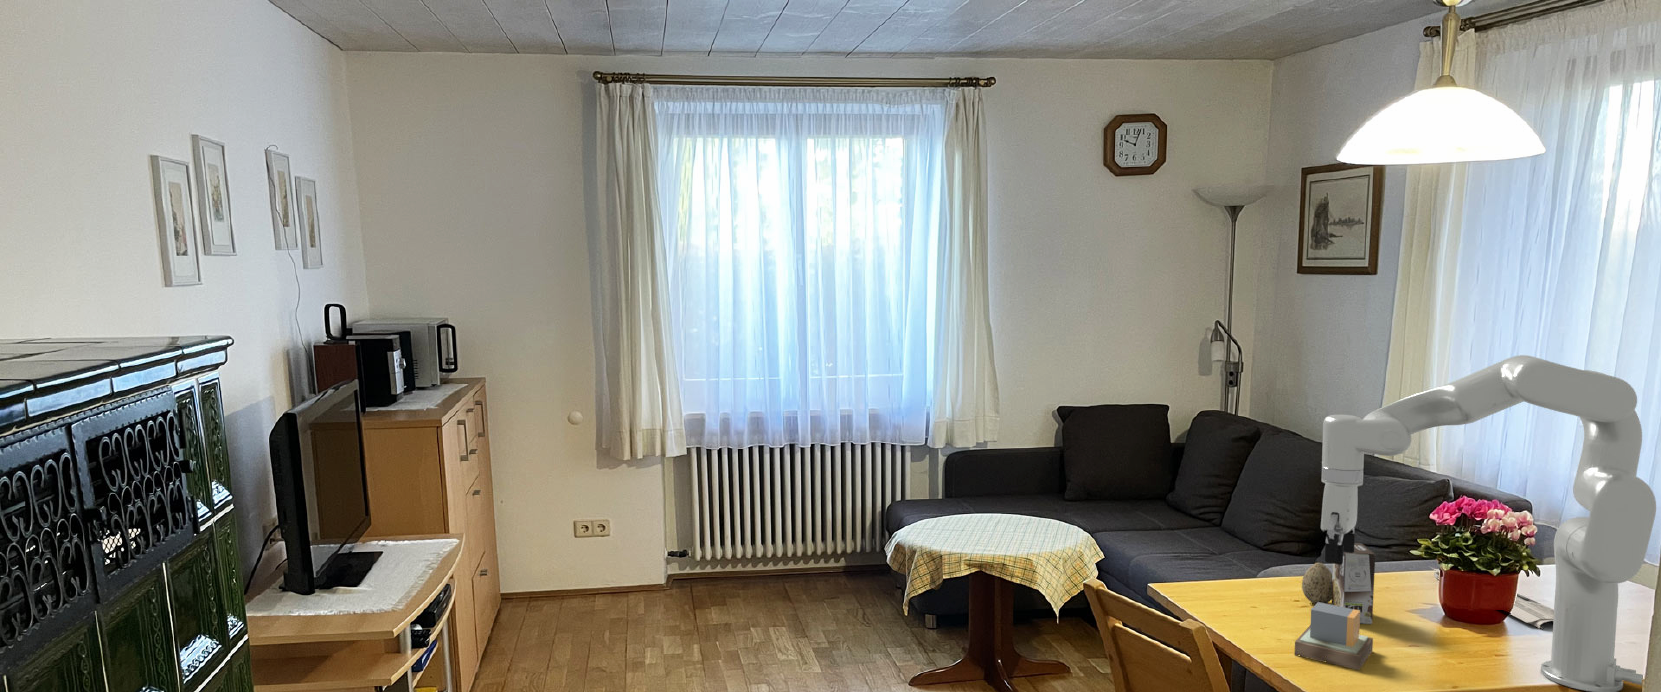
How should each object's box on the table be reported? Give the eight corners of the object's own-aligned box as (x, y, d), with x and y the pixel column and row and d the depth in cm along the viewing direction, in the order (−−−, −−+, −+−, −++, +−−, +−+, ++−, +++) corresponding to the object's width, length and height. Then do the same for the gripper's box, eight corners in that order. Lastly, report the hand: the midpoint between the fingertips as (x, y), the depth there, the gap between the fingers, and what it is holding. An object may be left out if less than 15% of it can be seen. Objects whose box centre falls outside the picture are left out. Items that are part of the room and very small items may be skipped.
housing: (1317, 629, 206) (1318, 602, 205) (1359, 638, 201) (1360, 610, 200) (1310, 637, 201) (1311, 609, 201) (1352, 646, 196) (1353, 618, 196)
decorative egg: (1339, 603, 230) (1340, 562, 229) (1329, 611, 225) (1330, 569, 224) (1307, 596, 235) (1308, 556, 234) (1296, 603, 230) (1298, 562, 229)
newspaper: (1583, 630, 213) (1584, 614, 213) (1529, 632, 213) (1530, 616, 212) (1467, 577, 248) (1468, 564, 248) (1421, 579, 248) (1422, 565, 247)
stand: (1372, 651, 202) (1373, 636, 202) (1359, 670, 193) (1359, 654, 193) (1310, 637, 210) (1310, 622, 209) (1294, 654, 201) (1295, 639, 200)
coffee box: (1373, 624, 216) (1376, 554, 215) (1342, 622, 218) (1345, 552, 216) (1360, 610, 225) (1362, 542, 224) (1330, 608, 227) (1332, 541, 225)
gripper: (1332, 466, 207) (1330, 544, 208) (1311, 480, 194) (1308, 564, 195) (1372, 470, 202) (1369, 550, 204) (1352, 486, 189) (1350, 571, 191)
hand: (1339, 557), depth 200 cm, fingers open, 9 cm apart
